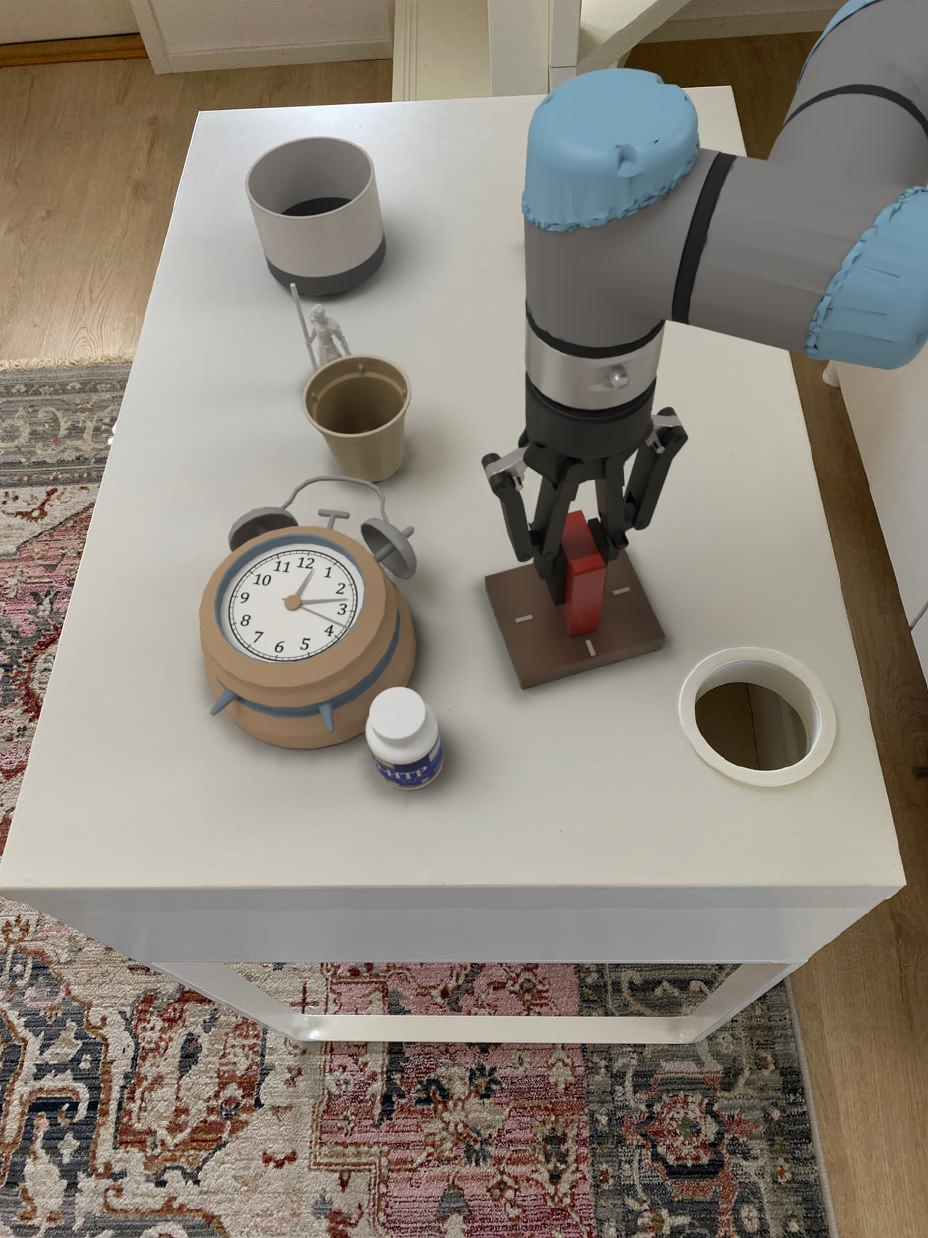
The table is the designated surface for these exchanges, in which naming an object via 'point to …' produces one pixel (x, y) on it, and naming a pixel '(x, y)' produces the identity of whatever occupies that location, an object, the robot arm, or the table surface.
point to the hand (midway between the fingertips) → (573, 585)
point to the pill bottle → (404, 739)
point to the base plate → (542, 633)
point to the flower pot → (360, 413)
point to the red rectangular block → (581, 577)
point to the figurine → (321, 333)
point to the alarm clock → (307, 624)
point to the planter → (317, 214)
